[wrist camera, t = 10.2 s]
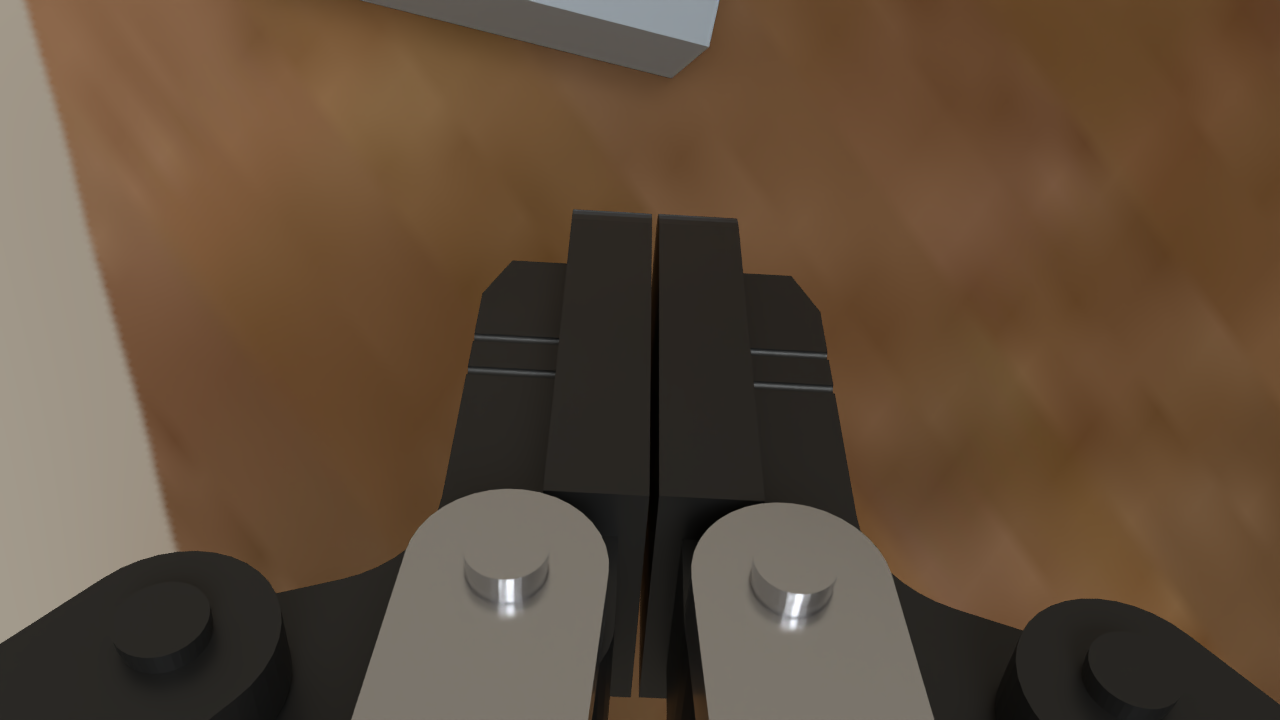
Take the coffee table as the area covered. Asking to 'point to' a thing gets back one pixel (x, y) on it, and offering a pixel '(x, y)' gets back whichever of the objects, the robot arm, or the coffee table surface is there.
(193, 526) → the coffee table surface
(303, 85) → the coffee table surface
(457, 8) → the platform
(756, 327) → the robot arm
